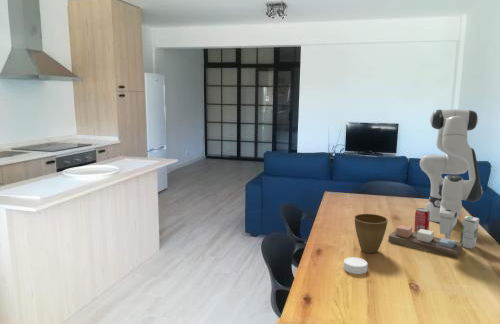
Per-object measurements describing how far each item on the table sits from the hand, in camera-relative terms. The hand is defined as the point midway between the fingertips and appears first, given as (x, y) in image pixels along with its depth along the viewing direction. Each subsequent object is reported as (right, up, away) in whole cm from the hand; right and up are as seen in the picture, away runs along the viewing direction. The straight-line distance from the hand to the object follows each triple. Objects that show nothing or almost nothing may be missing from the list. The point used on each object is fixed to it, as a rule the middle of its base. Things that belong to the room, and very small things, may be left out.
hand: (447, 237), depth 179 cm
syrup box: (+13, -6, +6) cm, 15 cm away
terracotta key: (-16, -1, +12) cm, 20 cm away
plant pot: (-37, -6, 0) cm, 38 cm away
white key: (-8, -2, +6) cm, 10 cm away
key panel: (-8, -5, +7) cm, 12 cm away
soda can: (-2, -2, +24) cm, 24 cm away
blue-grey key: (0, -6, +1) cm, 6 cm away
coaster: (-49, -10, -19) cm, 54 cm away
